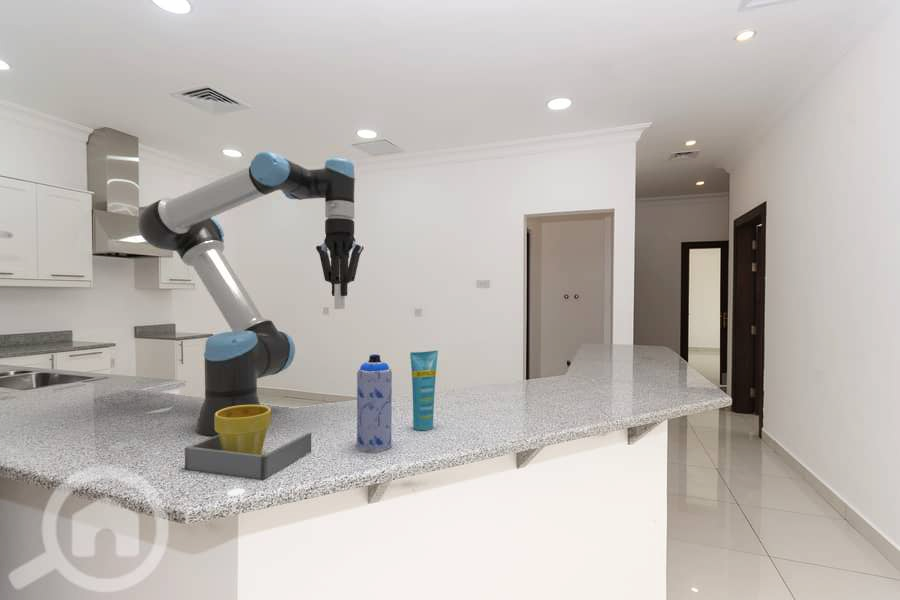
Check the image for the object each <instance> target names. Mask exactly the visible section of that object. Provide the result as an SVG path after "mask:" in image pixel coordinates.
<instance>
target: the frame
mask: <svg viewBox="0 0 900 600" xmlns="http://www.w3.org/2000/svg"><path fill="white" fill-rule="evenodd" d="M309 452H310V453H311V452H312V432H306V433H305V434H302V435H300V436H298V437H296V438H294V439H292V440H290V441H288V442H287V443H284V444H283V445H281V446H279V447H277V448H274V449H273V450H271V451H269V452H267V453H265V454H261V455H257V454H248V453H239V452H231V451H222V446H221V442H220V438H219V435H217V436H212V437H211V436H210V437H209V438H207V439H204V440H201V441H199V442H196V443H194V444H192V445H189V446H186V447H184V470H189V471H191V470H192V471H198V472H206V473H213V474H219V475H220V474H221V475H227V476H235V477H242V478H249V477H250V478H251V479H257V478H259V479H258V480H264V481H265V480H266V479H268V478H269V476H270V477H271V476H273V475H274V473H275V474H276V473H278V472H280V471H281V470H283V469H285V468H286V467H288V466H290V465H292V464H293V463H295V462H297V461H298V460H300V459H301V457H302V458H303V457H305V456H306V454H307V453H308V454H310V453H309ZM308 454H307V455H308ZM304 455H305V456H304ZM299 458H300V459H299ZM297 459H298V460H297ZM296 460H297V461H296ZM294 461H295V462H294ZM292 462H293V463H292ZM289 464H290V465H289ZM284 467H285V468H284ZM272 474H273V475H272ZM250 478H249V479H250Z"/></svg>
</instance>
